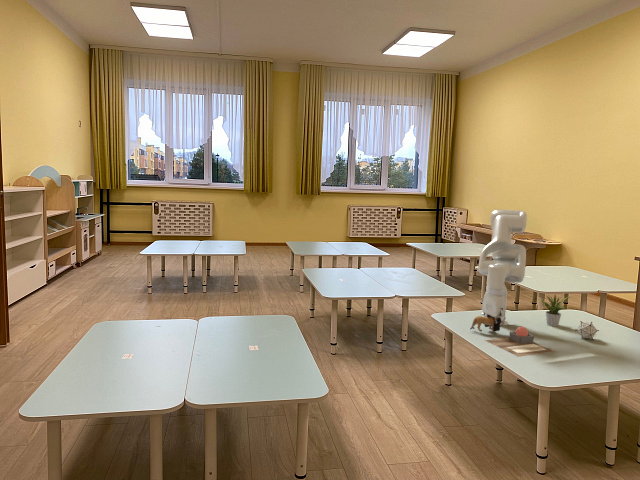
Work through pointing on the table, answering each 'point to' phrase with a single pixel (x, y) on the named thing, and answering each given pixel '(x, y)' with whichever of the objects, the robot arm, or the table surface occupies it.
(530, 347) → the brown flat square board
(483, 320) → the lion figurine
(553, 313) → the house plant
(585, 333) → the game die
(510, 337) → the dome housing
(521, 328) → the pop dome
